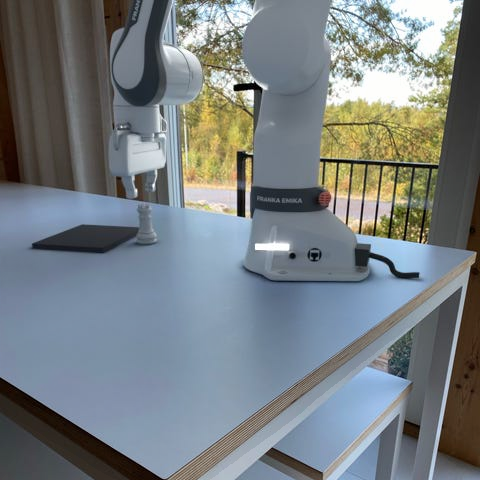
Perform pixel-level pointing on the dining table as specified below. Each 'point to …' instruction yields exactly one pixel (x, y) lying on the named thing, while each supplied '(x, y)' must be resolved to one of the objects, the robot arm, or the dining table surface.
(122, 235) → the mat
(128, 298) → the dining table surface
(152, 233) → the rook chess piece
